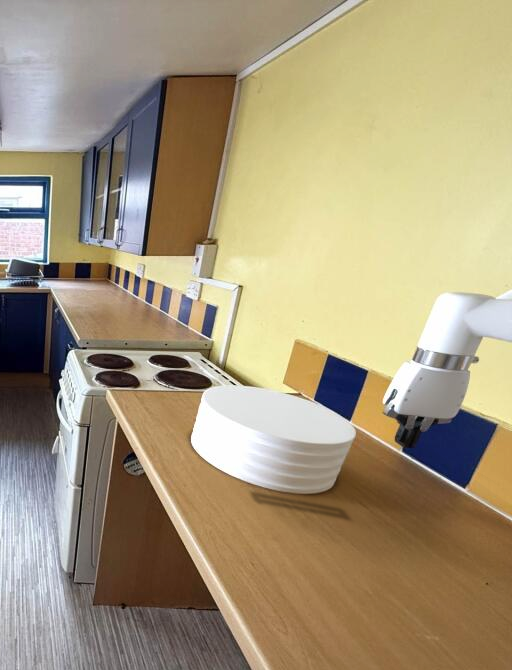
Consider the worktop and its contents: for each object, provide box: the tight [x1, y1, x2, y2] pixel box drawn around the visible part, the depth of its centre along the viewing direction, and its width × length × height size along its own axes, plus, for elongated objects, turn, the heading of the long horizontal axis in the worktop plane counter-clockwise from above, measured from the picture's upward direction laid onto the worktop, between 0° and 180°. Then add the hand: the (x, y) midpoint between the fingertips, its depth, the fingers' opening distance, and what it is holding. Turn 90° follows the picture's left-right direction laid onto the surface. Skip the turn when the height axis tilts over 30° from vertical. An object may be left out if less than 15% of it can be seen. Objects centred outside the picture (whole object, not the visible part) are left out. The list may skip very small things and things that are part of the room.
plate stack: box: [190, 384, 357, 495], centre depth 89 cm, size 28×28×12 cm
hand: (403, 444), depth 83 cm, fingers closed
